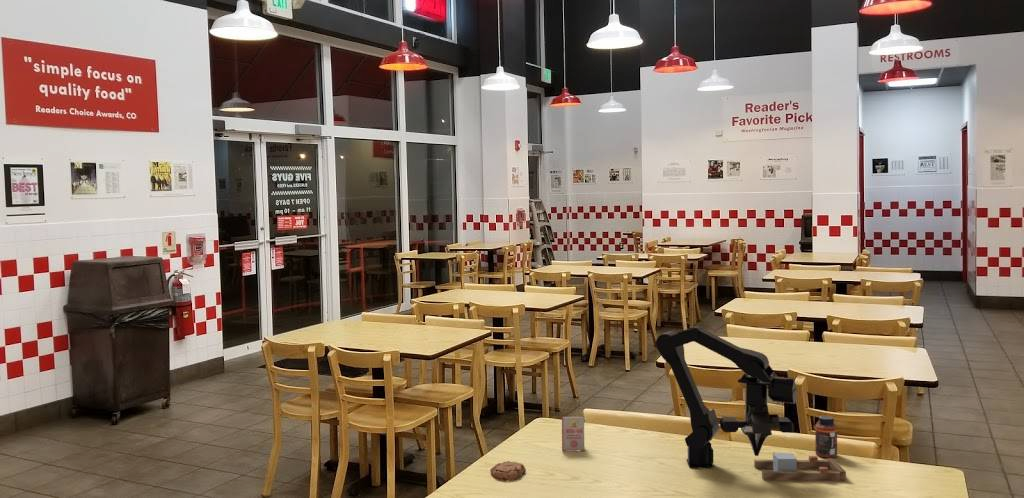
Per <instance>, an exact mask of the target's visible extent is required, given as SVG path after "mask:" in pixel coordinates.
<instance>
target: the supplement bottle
mask: <svg viewBox="0 0 1024 498" xmlns="http://www.w3.org/2000/svg"><path fill="white" fill-rule="evenodd" d="M834 419H835V418H834V417H833V416H830V415H820V416H818V422H817V423H816V424H815V432H814V433H815V437H814V438H815V450H814V451H815V454H816V456H817V457H818V456H819V457H821V458H825V459H827V458H833V459H834V458H836V457H837V455H838V426H837V425H836V424H835V420H834Z"/></svg>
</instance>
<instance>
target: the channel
mask: <svg viewBox="0 0 1024 498" xmlns="http://www.w3.org/2000/svg"><path fill="white" fill-rule="evenodd" d="M753 467H754V469H773V459H753ZM797 469H799V471H798V470H797V471H773V470H762V471H761V479H762V481H812V482H813V481H815V482H817V481H818V482H819V481H821V482H822V481H825V482H826V481H828V482H829V481H832V482H833V481H836V482H837V481H838V482H845V481H847V471H846V470H845V469H844V468H843V467H842V466H841V465H840V464H839V463H838V462H837V461H836V459H834V457H833V458H826V459H818V455H808V459H797ZM800 469H801V470H800ZM803 469H805V470H803ZM807 469H808V470H807ZM810 469H813V470H810ZM815 469H816V471H814V470H815ZM817 469H818V470H817ZM806 470H807V471H806Z"/></svg>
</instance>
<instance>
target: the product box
mask: <svg viewBox="0 0 1024 498" xmlns="http://www.w3.org/2000/svg"><path fill="white" fill-rule="evenodd" d="M562 450H584V451H585V417H584V416H561V451H562Z"/></svg>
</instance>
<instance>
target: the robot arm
mask: <svg viewBox="0 0 1024 498" xmlns="http://www.w3.org/2000/svg"><path fill="white" fill-rule="evenodd" d="M692 342H694V343H697V344H698V345H700V346H702V347H704V348H706V349H708V350H710V351H712V352H714V353H715V354H717V355H720V356H721V357H723V358H726V359H727V360H729V361H731V362H732V363H733V364H735V366H737V368H738V369H739V370H741V371H743V372H744V373H743V375H742V376H741V377H740V378H739V379H738V380H737V382H738V383H741V384H745V401H744V404H745V414H744V419H745V420H737V419H736V417H735V416H734V417H733V416H722V417H721V418H720V419H719V418H718V417H717V413H716V410H715V409H714V408H712V409H709V408H708V407H707V406H706V405H705V403H704V401H703V398H702V396H701V394H700V391H699V389H698V386H697V384H696V382H695V380H694V378H693V375H692V373H691V371H690V368H689V367H688V364H687V362H686V359H685V358H686V357H685V347H684V345H686V344H690V343H692ZM655 348H656V349H657V351H658V353H659V355H660V356H661V357H662V359H663V360H664V361H665V362H666V363H667V364H668V365H669V366H670V368H671V371H672V373H673V375H674V378H675V380H676V382H677V385H678V387H679V390H680V392H681V394H682V396H683V399H684V401H685V404H686V405H687V408H688V411H689V416H690V417H689V419H690V421H689V422H690V426H691V430H692V432H691V433H690V434H689V435H687V436H686V437H685V438H684V441H685V444H686V446H687V459H686V462H687V465H688V467H689V468H691V469H692V468H693V469H694V468H695V469H696V468H697V469H698V468H701V469H704V468H706V469H711V468H714V466H713V464H714V449H713V447H712V443H711V441H712V440H713V438H714V437H715V436H716V435H717V434H718V433H719V431H720V430H719V429H721V430H722V432H723V433H736V432H738V430H739V429H740V430H741V432H742V433H743V435H745V436H747V437H748V441H749V442H750V446H751V448H752V451H753V454H754V456H755V457H759V454H760V452H761V449H762V447H763V444H764V442H765V440H766V438H767V437H768V436H772V429H779V431H780V432H781V433H785V434H786V433H790V434H791V433H795V431H794V430H795V428H794V427H795V426H794V423H793V422H792V421H791V420H790V418H788V417H786V416H785V417H784V416H783V417H780V416H779V414H777V413H775V414H774V413H773V414H772V413H771V414H770V413H769V408H768V407H769V406H768V398H769V399H770V400H772V402H775V403H784V404H785V403H786V404H791V405H792V404H793V405H795V404H796V402H797V399H798V398H797V396H798V388H797V384H796V378H795V377H781V376H778V375H777V373H776V372H775V371H774V370H773V368H772V367H771V365H770V360H769V358H768V356H766V355H765V354H764V353H762V352H759V351H755V350H753V349H748V348H743V347H740V346H738V345H735V344H733V343H732V342H731V341H728V340H726V339H724V338H722V337H720V336H718V335H717V334H714V333H712V332H710V331H709V330H706V329H705V328H703V327H702V326H700V325H694V326H692V327H690V328H687V329H684V330H680V331H677V332H676V331H675V330H674V331H673V330H669V331H666V332H664V333H662V334H660V335H659V336H658V337H657V338H656V340H655Z"/></svg>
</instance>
